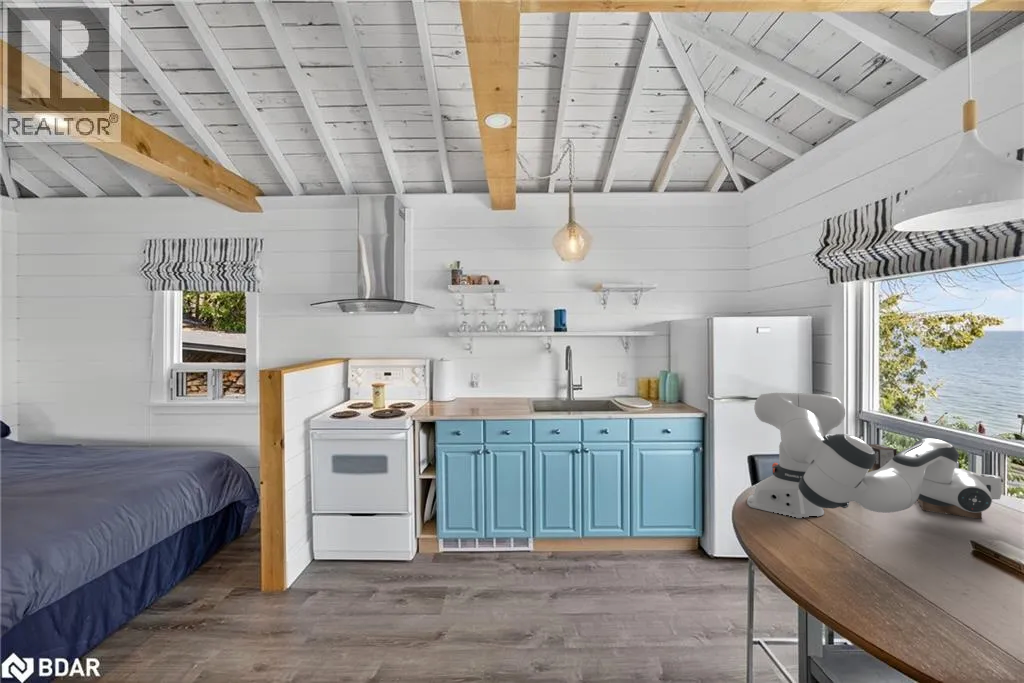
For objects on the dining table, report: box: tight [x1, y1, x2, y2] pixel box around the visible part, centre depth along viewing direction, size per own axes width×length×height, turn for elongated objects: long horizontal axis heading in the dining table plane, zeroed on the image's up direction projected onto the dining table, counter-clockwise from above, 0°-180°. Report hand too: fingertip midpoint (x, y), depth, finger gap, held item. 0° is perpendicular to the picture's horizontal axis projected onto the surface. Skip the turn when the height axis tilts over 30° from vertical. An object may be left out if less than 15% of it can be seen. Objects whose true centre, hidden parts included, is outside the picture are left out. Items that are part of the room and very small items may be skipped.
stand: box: [917, 499, 983, 520], centre depth 157 cm, size 14×16×4 cm
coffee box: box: [867, 443, 898, 473], centre depth 176 cm, size 9×6×16 cm
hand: (950, 472), depth 153 cm, fingers open, 8 cm apart
